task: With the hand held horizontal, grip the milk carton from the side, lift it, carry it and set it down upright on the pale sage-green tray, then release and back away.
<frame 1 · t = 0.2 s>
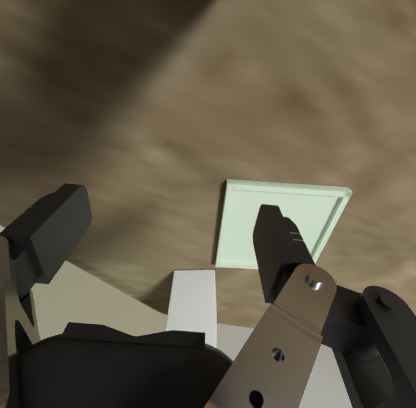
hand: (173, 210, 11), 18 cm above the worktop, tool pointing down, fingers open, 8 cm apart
milk carton: (196, 280, 43), on the worktop
tray: (273, 228, 35), on the worktop
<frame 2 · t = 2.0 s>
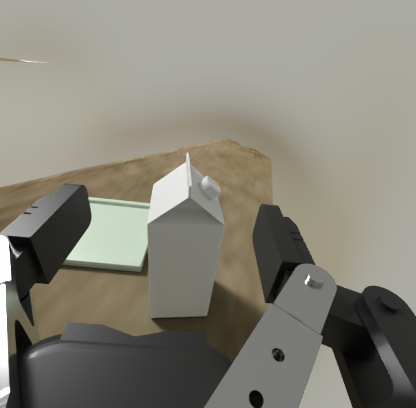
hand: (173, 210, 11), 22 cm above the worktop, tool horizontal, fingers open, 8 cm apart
milk carton: (179, 294, 32), on the worktop
tray: (106, 231, 41), on the worktop
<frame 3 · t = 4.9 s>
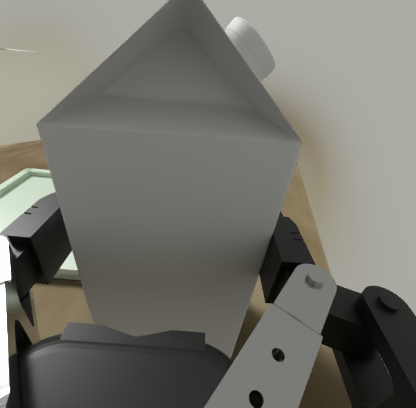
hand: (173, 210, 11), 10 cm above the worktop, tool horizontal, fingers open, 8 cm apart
milk carton: (170, 324, 17), on the worktop
tray: (57, 215, 26), on the worktop
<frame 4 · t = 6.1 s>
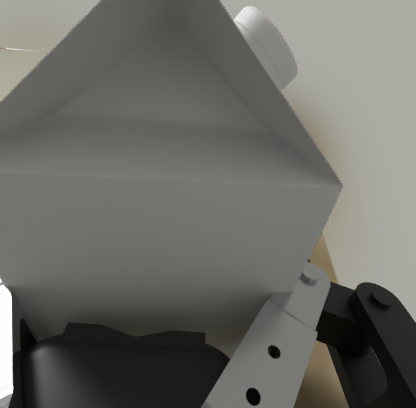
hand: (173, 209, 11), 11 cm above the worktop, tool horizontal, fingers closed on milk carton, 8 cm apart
milk carton: (164, 361, 15), on the worktop, touching gripper
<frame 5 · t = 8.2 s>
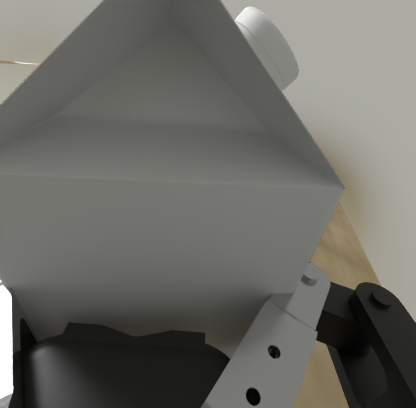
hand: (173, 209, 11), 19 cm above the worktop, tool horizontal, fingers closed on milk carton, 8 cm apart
milk carton: (165, 361, 15), point 8 cm above the worktop, touching gripper
when the fingers open (12 cm above the worktop, at t = 10.8 s): milk carton drops 1 cm, resting on tray.
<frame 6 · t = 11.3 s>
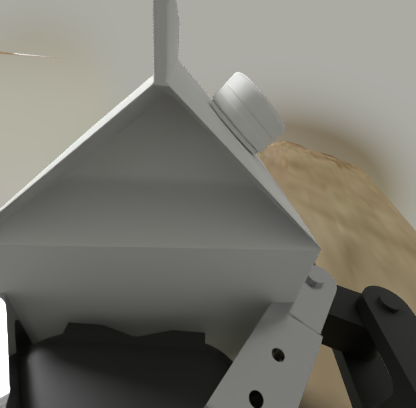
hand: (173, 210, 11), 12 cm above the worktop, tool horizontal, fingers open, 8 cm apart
milk carton: (164, 374, 16), resting on tray
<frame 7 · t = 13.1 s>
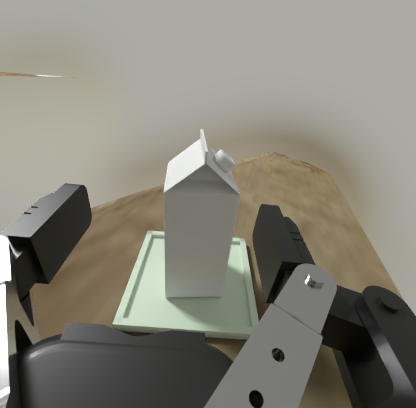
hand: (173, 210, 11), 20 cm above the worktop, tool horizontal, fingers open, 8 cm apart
milk carton: (192, 277, 32), resting on tray
tray: (192, 278, 33), on the worktop
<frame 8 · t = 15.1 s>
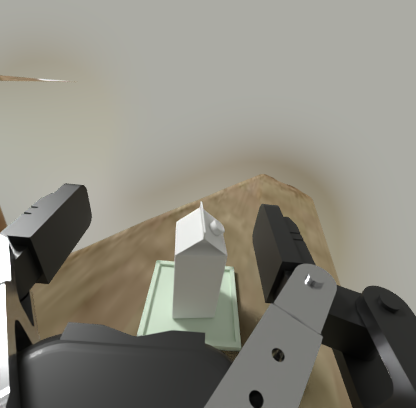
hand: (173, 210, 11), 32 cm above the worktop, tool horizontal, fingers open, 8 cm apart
milk carton: (192, 300, 43), resting on tray
tray: (192, 301, 43), on the worktop
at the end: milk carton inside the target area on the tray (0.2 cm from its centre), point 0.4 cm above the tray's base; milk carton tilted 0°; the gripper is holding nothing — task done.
